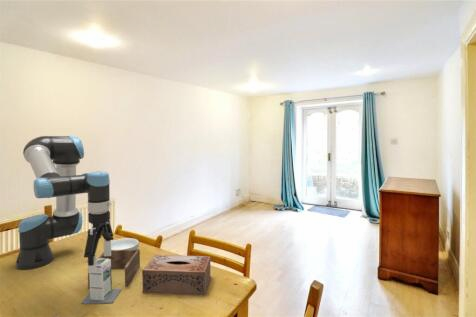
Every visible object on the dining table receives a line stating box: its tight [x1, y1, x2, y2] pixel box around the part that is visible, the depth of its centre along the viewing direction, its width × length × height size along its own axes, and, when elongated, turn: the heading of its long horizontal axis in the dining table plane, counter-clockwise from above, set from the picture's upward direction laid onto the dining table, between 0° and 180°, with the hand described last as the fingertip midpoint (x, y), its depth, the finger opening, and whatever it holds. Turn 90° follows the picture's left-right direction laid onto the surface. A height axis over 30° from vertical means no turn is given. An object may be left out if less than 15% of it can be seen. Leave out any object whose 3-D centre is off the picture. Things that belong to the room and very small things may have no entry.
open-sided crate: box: [87, 248, 141, 290], centre depth 120 cm, size 16×18×9 cm
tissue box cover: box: [141, 254, 211, 296], centre depth 114 cm, size 26×14×10 cm, turn 87°
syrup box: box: [89, 257, 113, 301], centre depth 105 cm, size 6×6×14 cm
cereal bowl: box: [110, 237, 140, 250], centre depth 142 cm, size 17×17×7 cm
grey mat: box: [79, 288, 122, 305], centre depth 105 cm, size 12×9×1 cm
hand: (100, 263), depth 105 cm, fingers open, 13 cm apart
